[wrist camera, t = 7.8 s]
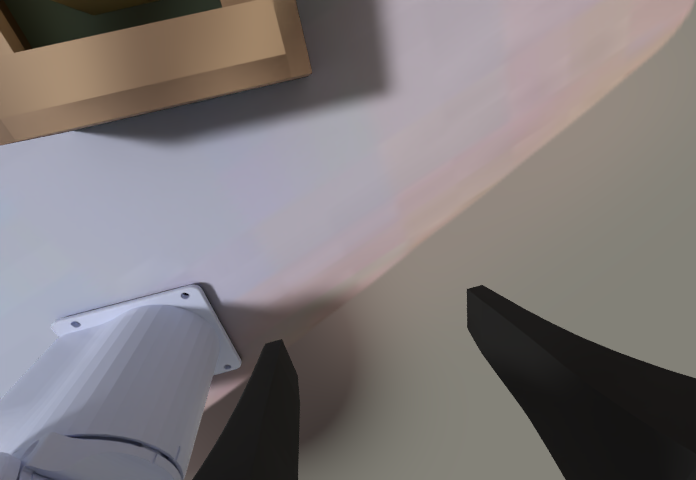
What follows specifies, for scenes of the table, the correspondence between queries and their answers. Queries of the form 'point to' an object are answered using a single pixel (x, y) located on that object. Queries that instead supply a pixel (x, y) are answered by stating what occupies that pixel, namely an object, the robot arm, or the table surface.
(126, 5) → the yellow dimpled cube
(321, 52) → the table surface
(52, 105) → the piece box
